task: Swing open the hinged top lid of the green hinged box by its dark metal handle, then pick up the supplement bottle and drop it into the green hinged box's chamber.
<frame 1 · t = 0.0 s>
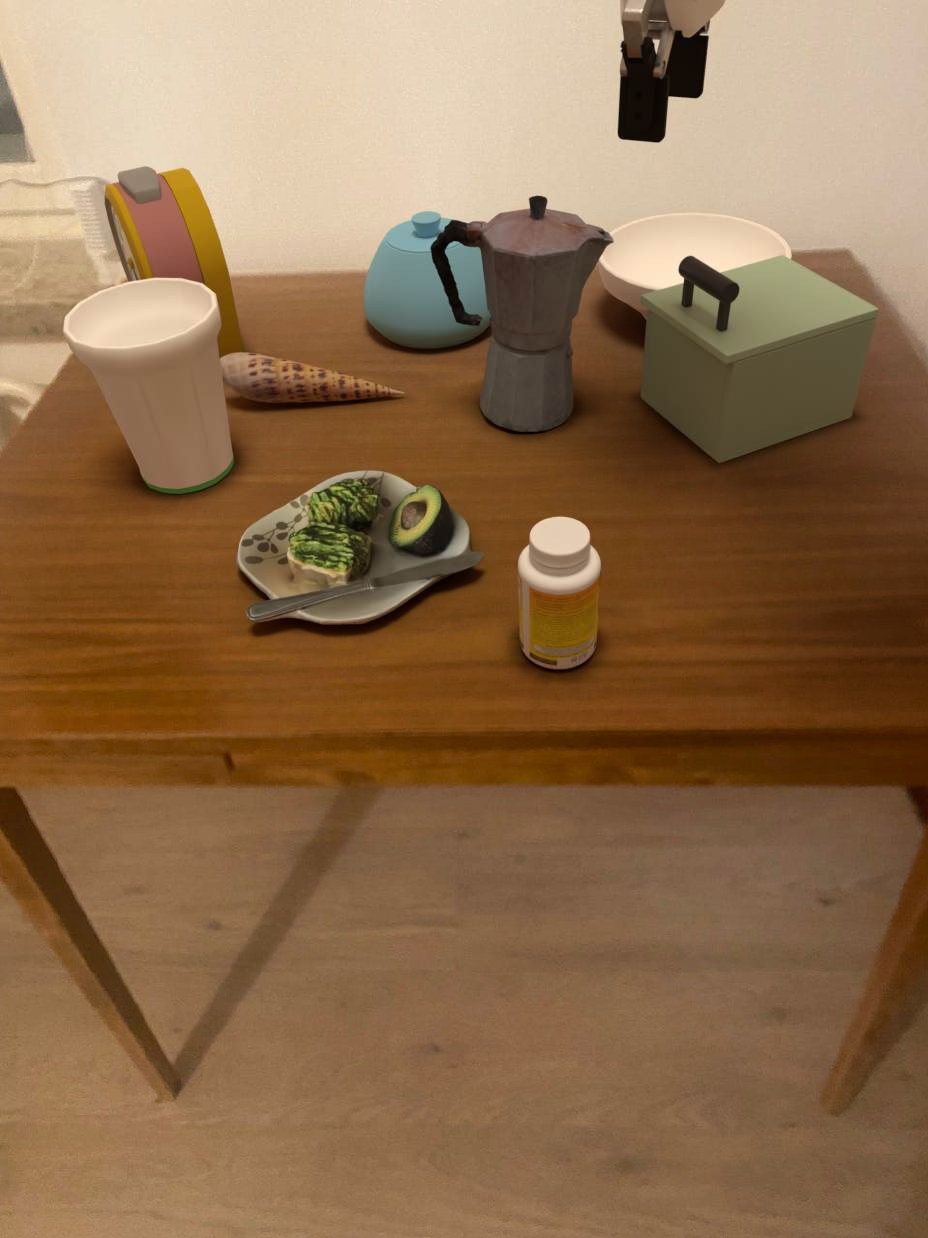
hand: (661, 116, 69), 27 cm above the table, tool pointing down, fingers open, 9 cm apart
bowl: (685, 316, 104), on the table
avocado toast plate: (364, 556, 78), on the table
seashell: (315, 402, 96), on the table
box lid: (760, 282, 82), point 12 cm above the table, hinge at 0.0°
cup: (189, 468, 89), on the table
sugar bowl: (434, 322, 107), on the table
moka pot: (523, 412, 93), on the table
supplement bottle: (558, 646, 70), on the table
alarm clock: (193, 346, 106), on the table
green hinged box: (743, 407, 91), on the table
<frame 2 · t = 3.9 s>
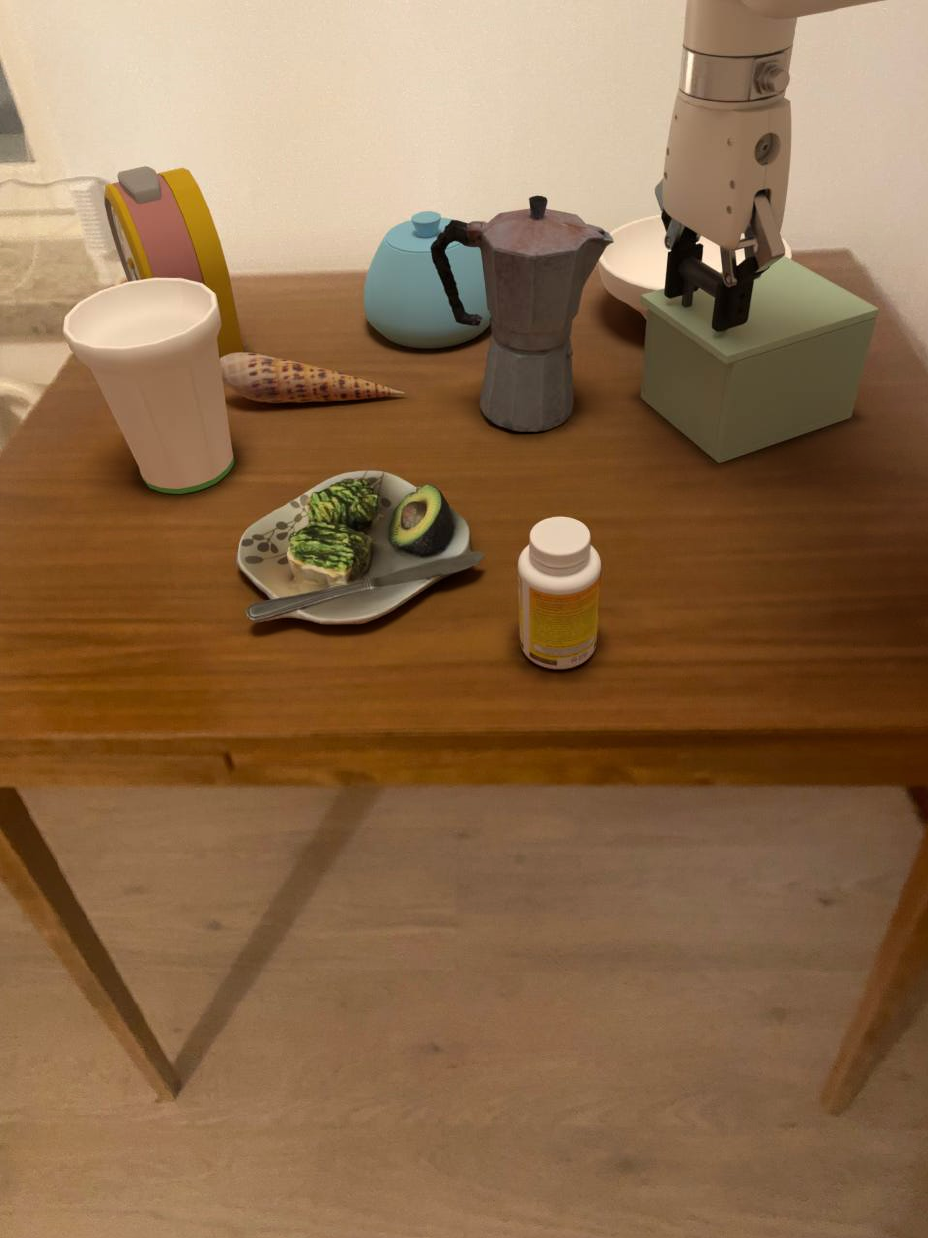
hand: (704, 307, 81), 11 cm above the table, tool pointing down, fingers closed on box lid, 6 cm apart
box lid: (760, 282, 82), point 12 cm above the table, hinge at 0.0°, touching gripper
everything else where it was.
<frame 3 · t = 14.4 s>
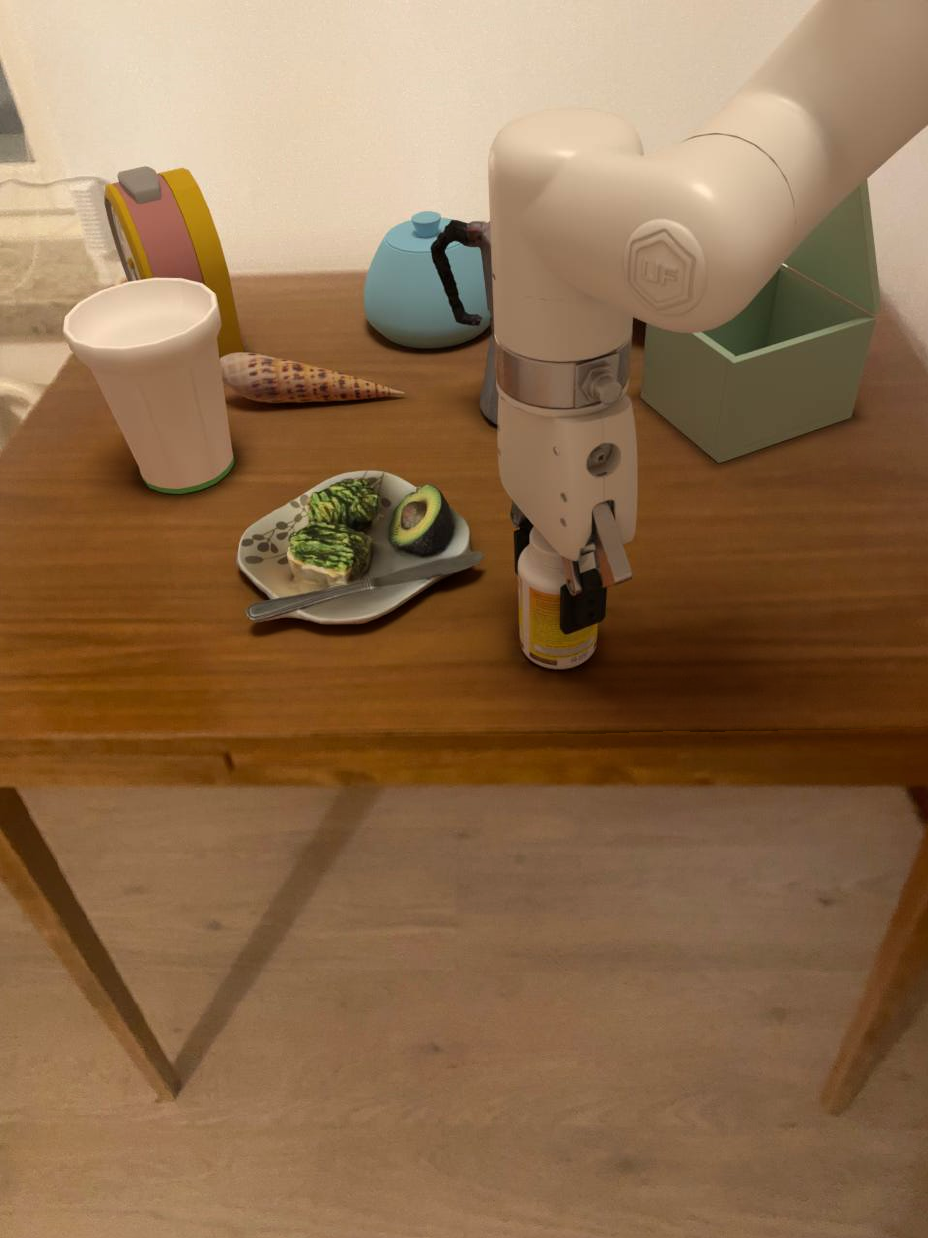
hand: (558, 594, 66), 5 cm above the table, tool pointing down, fingers closed on supplement bottle, 5 cm apart
box lid: (836, 195, 80), point 18 cm above the table, hinge at 66.9°
supplement bottle: (558, 646, 70), on the table, touching gripper
everything else where it was.
when the fingers open (13 cm above the table, at t = 21.6 s): supplement bottle drops 7 cm, resting on green hinged box.
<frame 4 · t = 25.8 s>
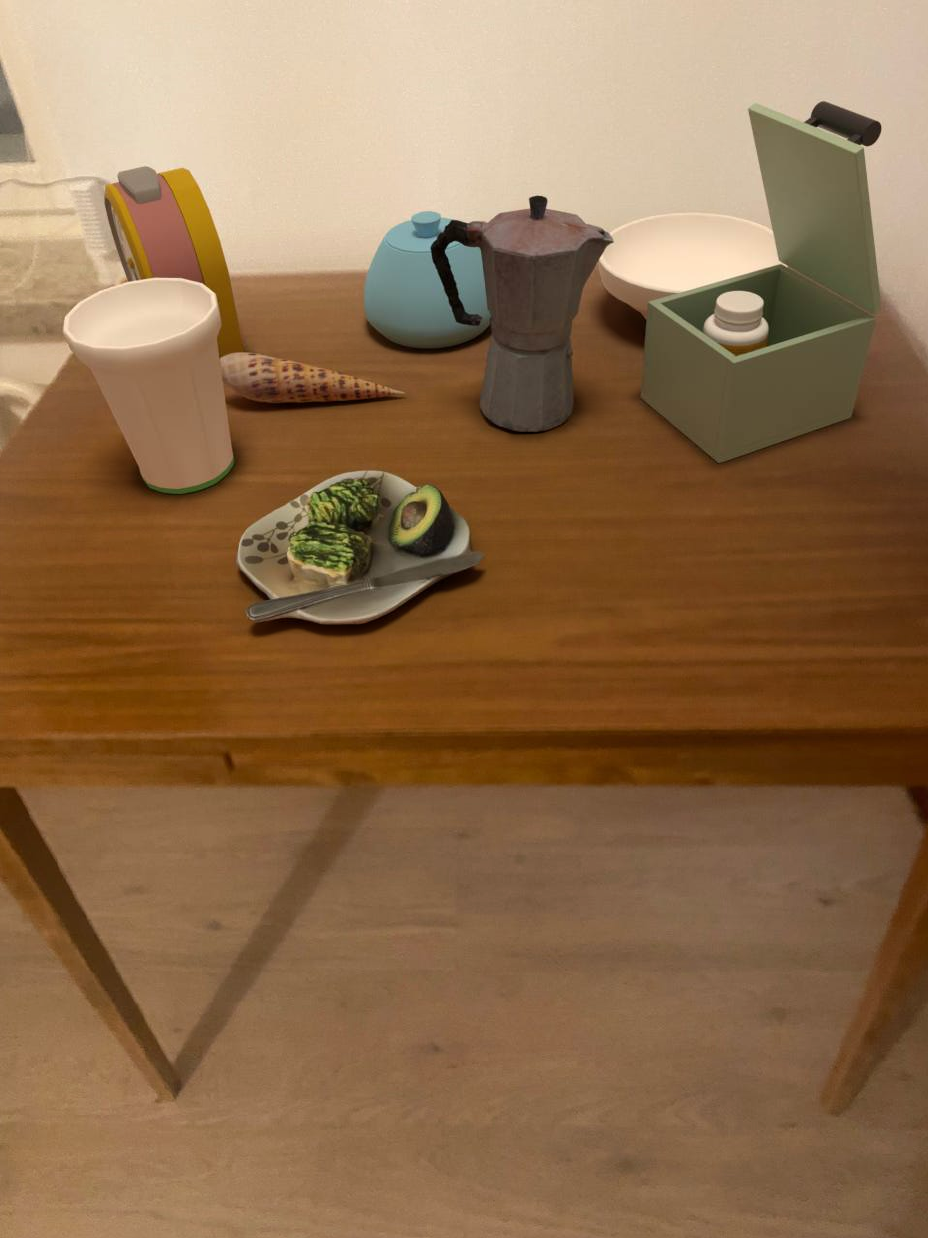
supplement bottle: (724, 406, 90), point 1 cm above the table, touching green hinged box
everything else where it was.
at the end: box lid at +67° (first picture: +0°); supplement bottle inside the target area in the green hinged box (2.1 cm from its centre), point 0.6 cm above the green hinged box's base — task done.
